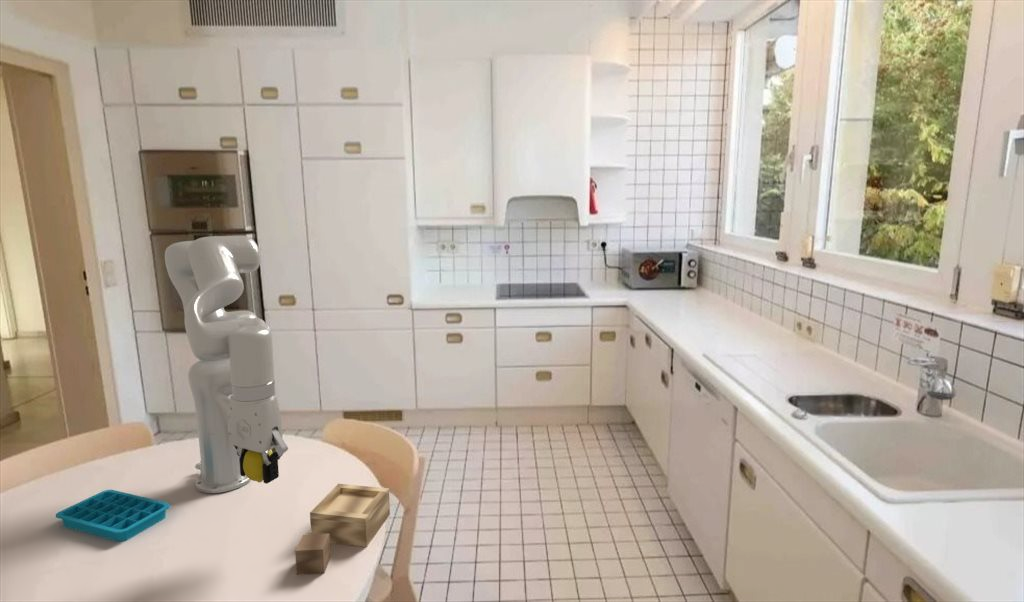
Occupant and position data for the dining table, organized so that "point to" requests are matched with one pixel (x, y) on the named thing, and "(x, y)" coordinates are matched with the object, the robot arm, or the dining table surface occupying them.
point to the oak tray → (351, 514)
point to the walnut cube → (313, 554)
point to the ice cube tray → (114, 514)
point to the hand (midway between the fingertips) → (259, 475)
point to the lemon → (254, 465)
